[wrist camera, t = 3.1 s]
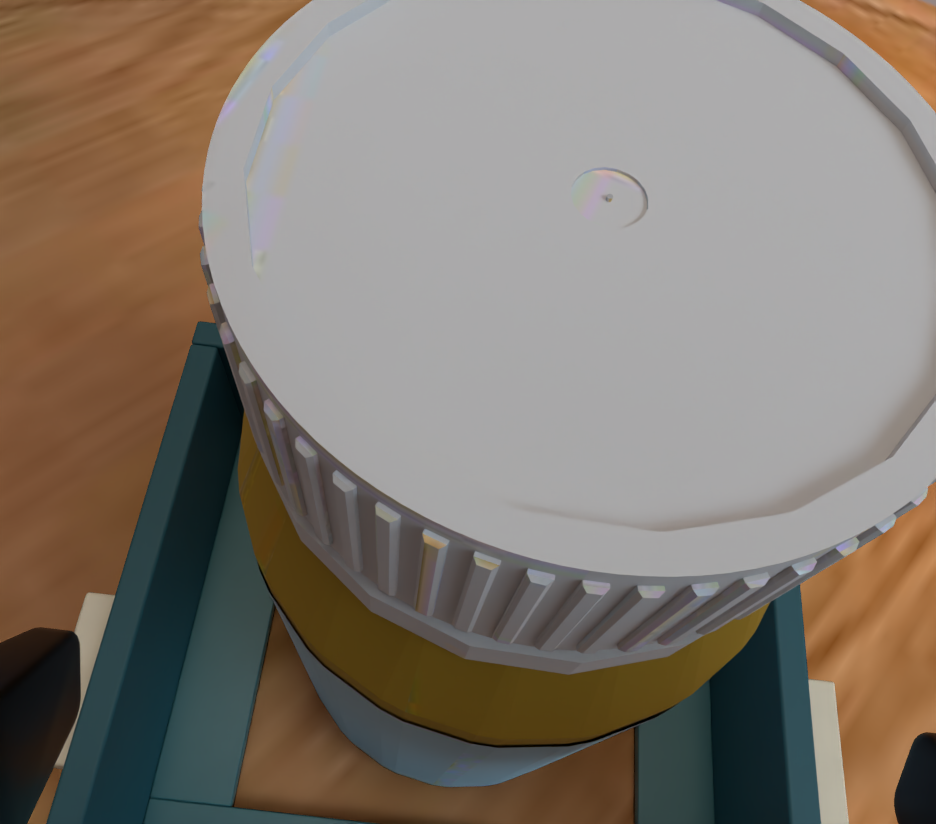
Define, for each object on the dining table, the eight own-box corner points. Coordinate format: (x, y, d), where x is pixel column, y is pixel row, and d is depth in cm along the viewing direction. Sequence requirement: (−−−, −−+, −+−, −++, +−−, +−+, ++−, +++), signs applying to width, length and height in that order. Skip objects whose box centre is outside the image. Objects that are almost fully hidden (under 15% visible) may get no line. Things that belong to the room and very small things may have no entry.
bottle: (482, 441, 22) (636, -173, 9) (662, 658, 20) (1245, 289, 6) (250, 595, 19) (-39, 77, 6) (426, 863, 17) (566, 958, 4)
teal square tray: (788, 1228, 15) (911, 1350, 12) (-7, 1150, 15) (-132, 1251, 11) (742, 470, 22) (810, 400, 19) (205, 400, 22) (169, 315, 18)
